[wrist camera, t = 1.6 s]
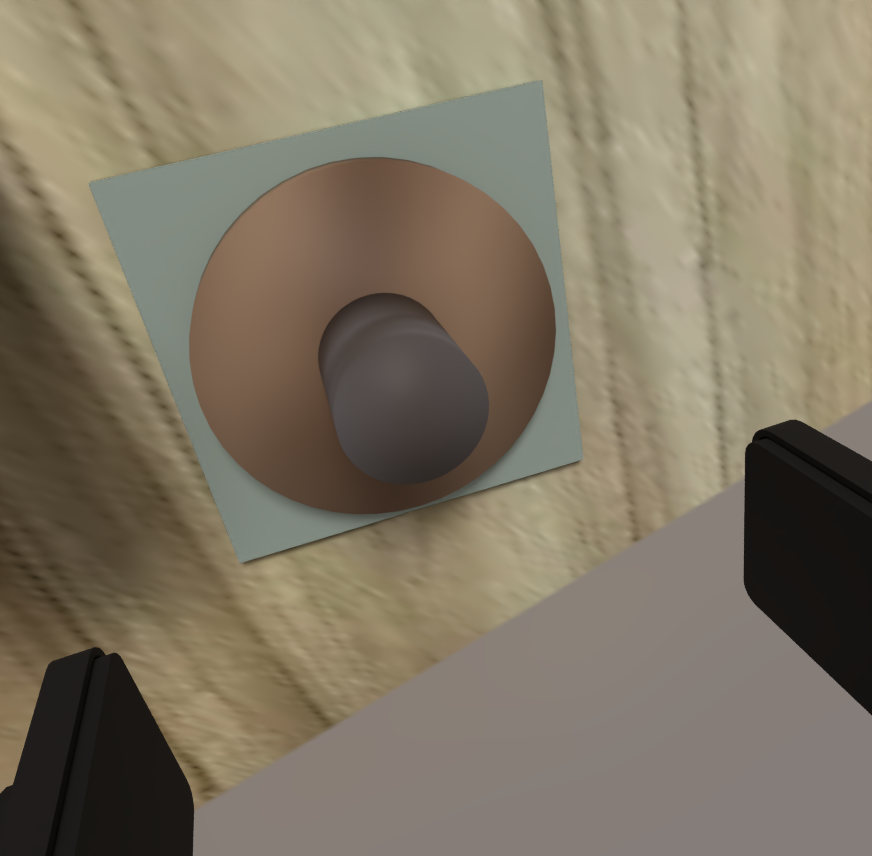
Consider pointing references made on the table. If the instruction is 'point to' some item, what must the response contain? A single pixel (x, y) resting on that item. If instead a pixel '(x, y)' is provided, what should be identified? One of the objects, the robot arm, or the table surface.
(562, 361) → the mat
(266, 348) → the lid
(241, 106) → the table surface
